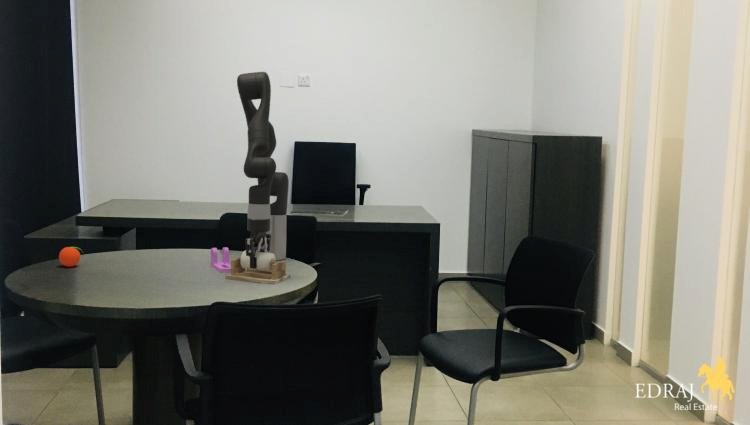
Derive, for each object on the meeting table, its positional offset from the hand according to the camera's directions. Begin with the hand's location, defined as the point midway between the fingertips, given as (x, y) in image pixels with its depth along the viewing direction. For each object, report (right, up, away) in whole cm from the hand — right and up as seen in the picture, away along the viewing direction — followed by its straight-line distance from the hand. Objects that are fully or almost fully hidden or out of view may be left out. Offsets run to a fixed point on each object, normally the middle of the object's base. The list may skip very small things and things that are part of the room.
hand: (257, 266), depth 256 cm
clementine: (-66, -1, +9) cm, 66 cm away
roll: (0, -1, 0) cm, 1 cm away
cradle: (0, -4, +1) cm, 4 cm away
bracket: (-14, -2, +14) cm, 20 cm away
